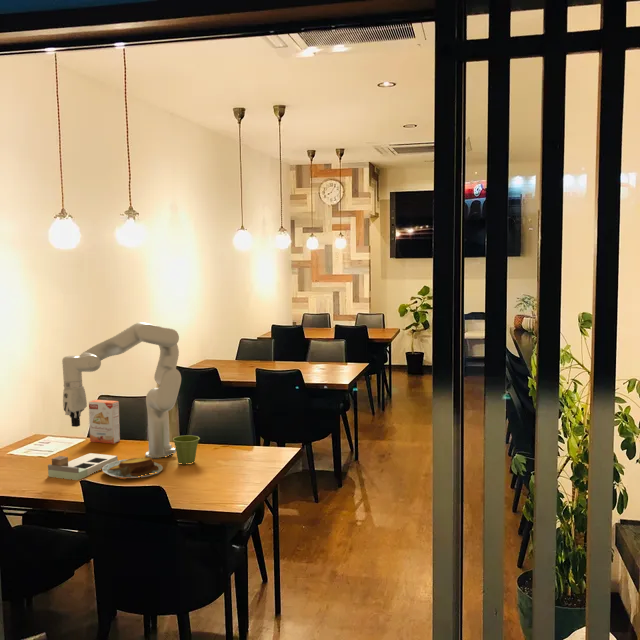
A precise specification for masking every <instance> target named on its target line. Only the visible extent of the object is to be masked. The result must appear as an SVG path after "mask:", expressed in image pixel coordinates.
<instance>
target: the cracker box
mask: <svg viewBox="0 0 640 640" xmlns="http://www.w3.org/2000/svg"><path fill="white" fill-rule="evenodd" d="M119 403H120V402H119V401H118V400H108V399H107V400H105V399H94V400H90V401H88V415H89V417H88V421H89V441H91V443H99V444H100V443H102V444H103V443H104V444H112V445H113V444H116V443H118V442H120V441H121V434H120V433H121V431H120V428H121V427H120V404H119Z"/></svg>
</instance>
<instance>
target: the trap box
mask: <svg viewBox="0 0 640 640" xmlns="http://www.w3.org/2000/svg"><path fill="white" fill-rule="evenodd" d="M118 458H119V457H118V455H113V454H112V455H111V454H102V453H101V454H100V453H92V452H89V453H87V454H84V455H81V456H79V457H77V458H74V459H72V460H68V466H59V465H52V463H51V464H50V463H49V464H48V465H47V472H48V473H47V474H48V475H47V476H49V478H55V477H56V478H57V479H63V478H64V479H65V480H71V479H72V480H73V481H79V480H81V479H85V477H89V476H90V474H91V475H92V473H93V474H95V473H97V472H99V471H98V470H100V469H102V468H103V466H105V465H106V464H109V463H111V462H115V461H119V460H118ZM96 471H97V472H96ZM100 471H101V470H100ZM94 472H95V473H94Z"/></svg>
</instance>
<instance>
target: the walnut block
mask: <svg viewBox="0 0 640 640" xmlns="http://www.w3.org/2000/svg"><path fill="white" fill-rule="evenodd" d="M68 462H69V456H63V455H58V456H55V457H53V458H51V465H59V466H68Z"/></svg>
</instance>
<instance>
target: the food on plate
mask: <svg viewBox="0 0 640 640" xmlns="http://www.w3.org/2000/svg"><path fill="white" fill-rule="evenodd" d="M163 469H164V466H163V465H161V464H160V463H158V462H155V461H154V460H153V458H151V457H146V456H145V457H139V458H137V457H133V458H128V459H126V458H125V459H119V460H118V461H115V462H111V463H109V464H106V465H105V466H103V468H102V470H101V471H102V472H103V473H104V474H107V475H109V476H111V477H113V478H118V479H120V480H122V479H123V480H126V479H138V478H140V477H141V478H147V477H150V476H153V475H156V474H157V475H158V474H159V473H161V471H162V470H163ZM155 472H157V473H155ZM149 473H155V474H152V475H145V474H149ZM141 475H145V476H141ZM138 476H140V477H138Z"/></svg>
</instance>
